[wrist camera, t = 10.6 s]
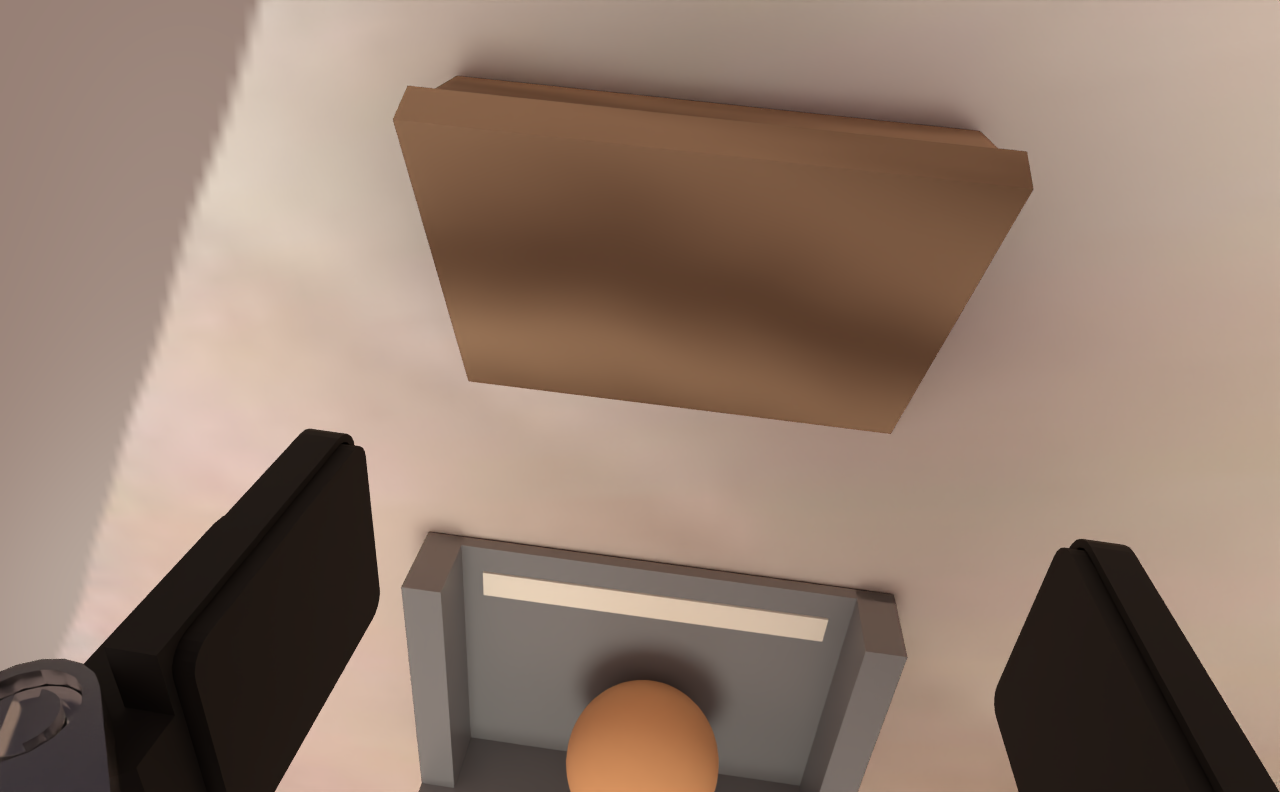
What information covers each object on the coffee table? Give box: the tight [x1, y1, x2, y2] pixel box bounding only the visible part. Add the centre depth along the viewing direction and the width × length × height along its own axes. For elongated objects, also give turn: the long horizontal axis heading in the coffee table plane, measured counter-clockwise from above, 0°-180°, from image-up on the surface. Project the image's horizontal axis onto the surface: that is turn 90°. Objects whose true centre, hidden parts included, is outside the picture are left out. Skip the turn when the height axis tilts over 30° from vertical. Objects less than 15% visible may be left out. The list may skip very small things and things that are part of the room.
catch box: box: [401, 532, 907, 792], centre depth 27 cm, size 11×15×4 cm
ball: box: [566, 680, 719, 792], centre depth 27 cm, size 5×5×5 cm
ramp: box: [393, 76, 1033, 434], centre depth 19 cm, size 9×12×5 cm
